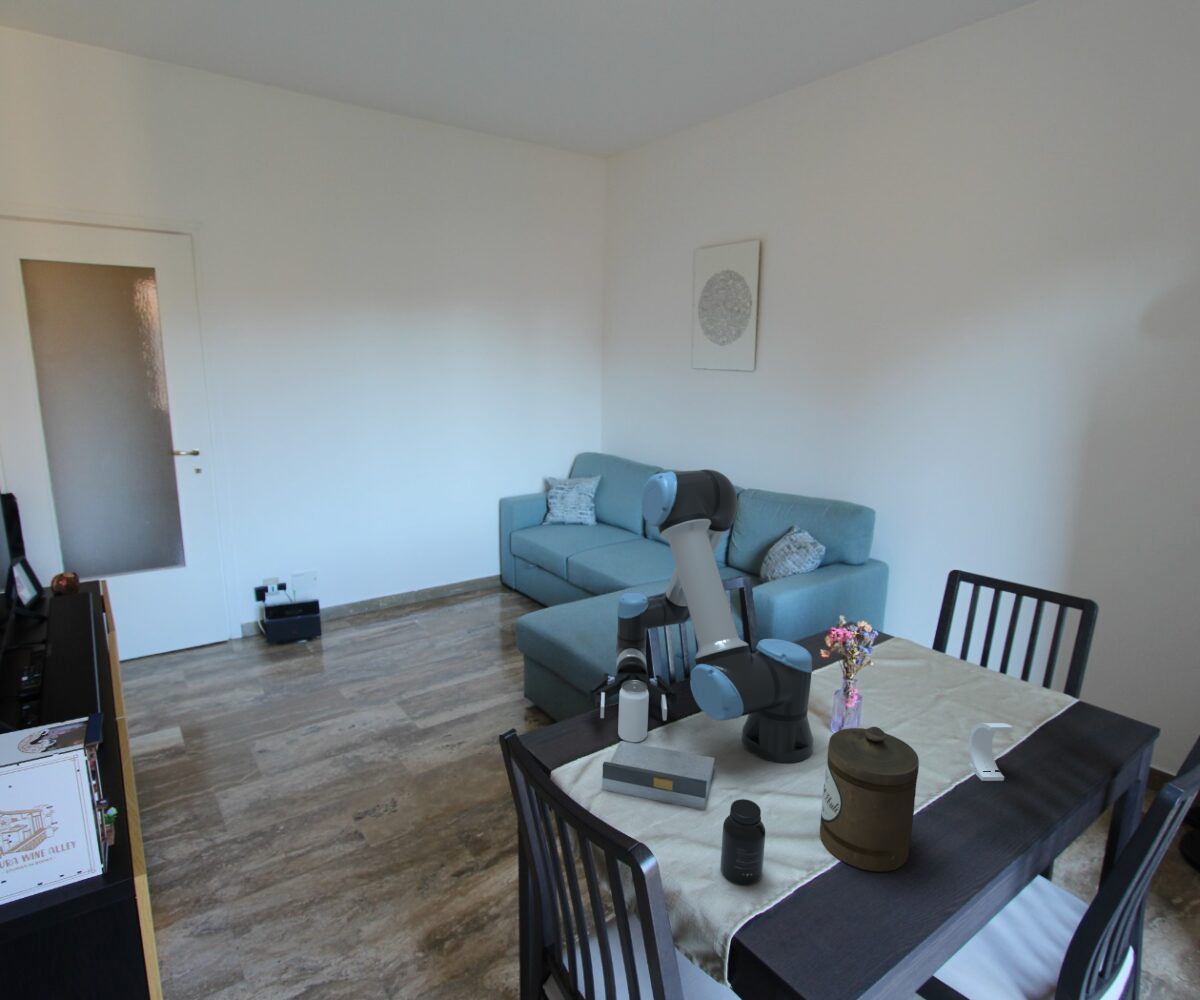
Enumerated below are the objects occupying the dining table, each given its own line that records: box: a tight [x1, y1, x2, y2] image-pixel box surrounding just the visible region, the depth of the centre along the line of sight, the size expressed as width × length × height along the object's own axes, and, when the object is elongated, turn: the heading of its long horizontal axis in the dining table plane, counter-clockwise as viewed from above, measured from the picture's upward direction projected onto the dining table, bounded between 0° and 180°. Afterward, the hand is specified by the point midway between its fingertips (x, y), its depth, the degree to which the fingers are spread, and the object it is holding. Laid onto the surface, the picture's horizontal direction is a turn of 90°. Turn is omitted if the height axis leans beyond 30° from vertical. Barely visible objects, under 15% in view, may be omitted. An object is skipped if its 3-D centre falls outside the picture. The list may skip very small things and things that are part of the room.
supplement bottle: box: [720, 798, 766, 886], centre depth 115 cm, size 7×7×12 cm
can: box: [617, 680, 650, 744], centre depth 155 cm, size 6×6×12 cm
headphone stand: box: [967, 722, 1013, 782], centre depth 145 cm, size 5×6×12 cm
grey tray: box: [601, 740, 716, 811], centre depth 140 cm, size 20×14×6 cm
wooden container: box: [819, 726, 920, 873], centre depth 122 cm, size 15×15×22 cm
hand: (633, 713), depth 152 cm, fingers open, 13 cm apart
